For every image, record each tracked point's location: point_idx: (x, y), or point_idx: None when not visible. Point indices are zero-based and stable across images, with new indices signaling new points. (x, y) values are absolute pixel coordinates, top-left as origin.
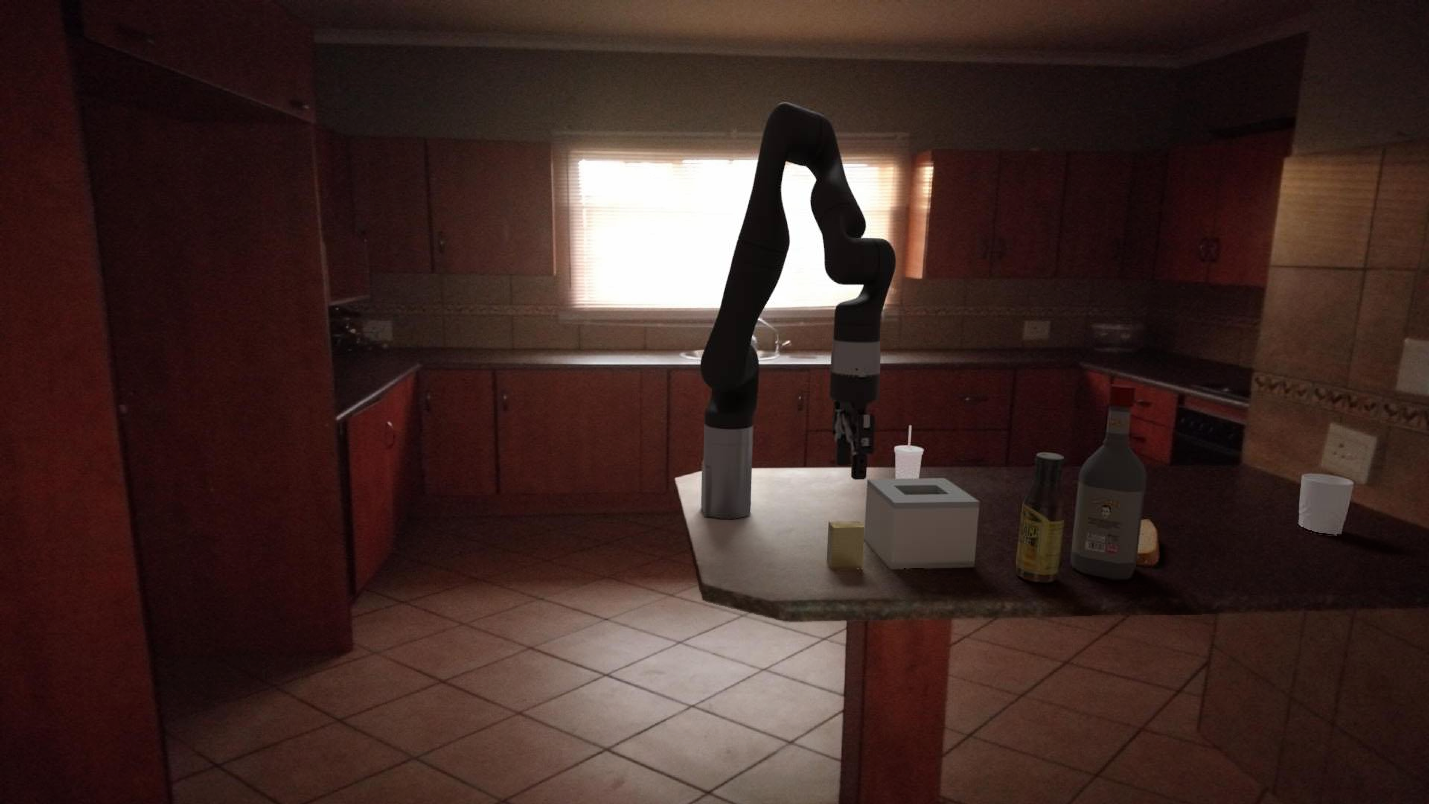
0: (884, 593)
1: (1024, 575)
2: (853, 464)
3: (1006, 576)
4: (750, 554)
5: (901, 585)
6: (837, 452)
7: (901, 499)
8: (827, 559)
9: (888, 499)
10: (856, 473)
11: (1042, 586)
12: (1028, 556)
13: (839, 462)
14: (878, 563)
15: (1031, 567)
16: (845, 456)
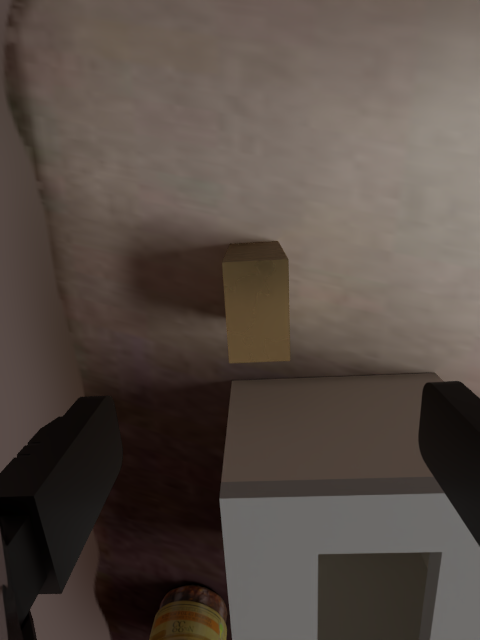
0: (94, 331)
1: (174, 593)
2: (36, 451)
3: (197, 566)
4: (362, 9)
5: (141, 377)
6: (473, 427)
7: (261, 529)
8: (272, 243)
9: (284, 491)
10: (39, 430)
11: (153, 598)
12: (158, 636)
13: (430, 401)
14: (270, 365)
15: (158, 618)
16: (448, 462)
